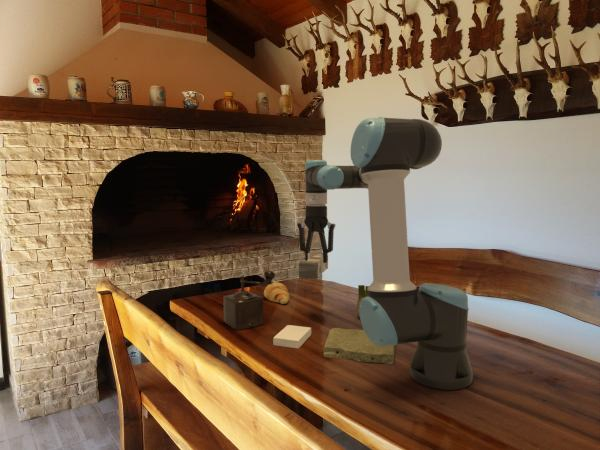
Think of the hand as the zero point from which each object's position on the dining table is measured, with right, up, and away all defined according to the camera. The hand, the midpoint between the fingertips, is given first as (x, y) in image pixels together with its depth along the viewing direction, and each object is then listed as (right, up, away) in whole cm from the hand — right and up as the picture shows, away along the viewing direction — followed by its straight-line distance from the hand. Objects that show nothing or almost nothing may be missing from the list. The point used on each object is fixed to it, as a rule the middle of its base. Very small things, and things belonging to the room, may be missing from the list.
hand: (316, 271), depth 160 cm
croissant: (-16, -14, +25) cm, 32 cm away
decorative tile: (+12, -21, -27) cm, 36 cm away
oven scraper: (0, 0, 0) cm, 0 cm away
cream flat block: (-6, -17, -14) cm, 23 cm away
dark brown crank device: (-23, -17, -4) cm, 29 cm away
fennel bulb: (+17, -17, -1) cm, 24 cm away
